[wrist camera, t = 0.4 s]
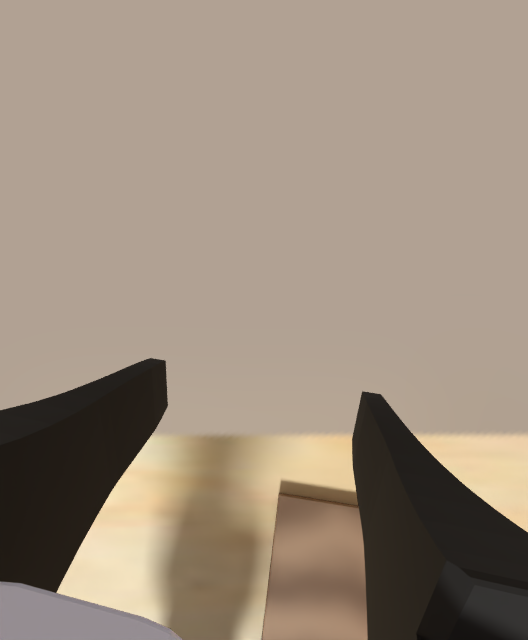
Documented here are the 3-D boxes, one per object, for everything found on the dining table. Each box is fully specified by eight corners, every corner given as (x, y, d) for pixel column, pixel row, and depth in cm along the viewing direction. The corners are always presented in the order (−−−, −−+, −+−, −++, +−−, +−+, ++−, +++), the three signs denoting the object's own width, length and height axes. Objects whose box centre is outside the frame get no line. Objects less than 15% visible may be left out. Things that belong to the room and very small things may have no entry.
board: (466, 723, 30) (474, 736, 29) (256, 682, 31) (256, 692, 30) (462, 522, 34) (468, 526, 33) (279, 493, 35) (279, 495, 34)
